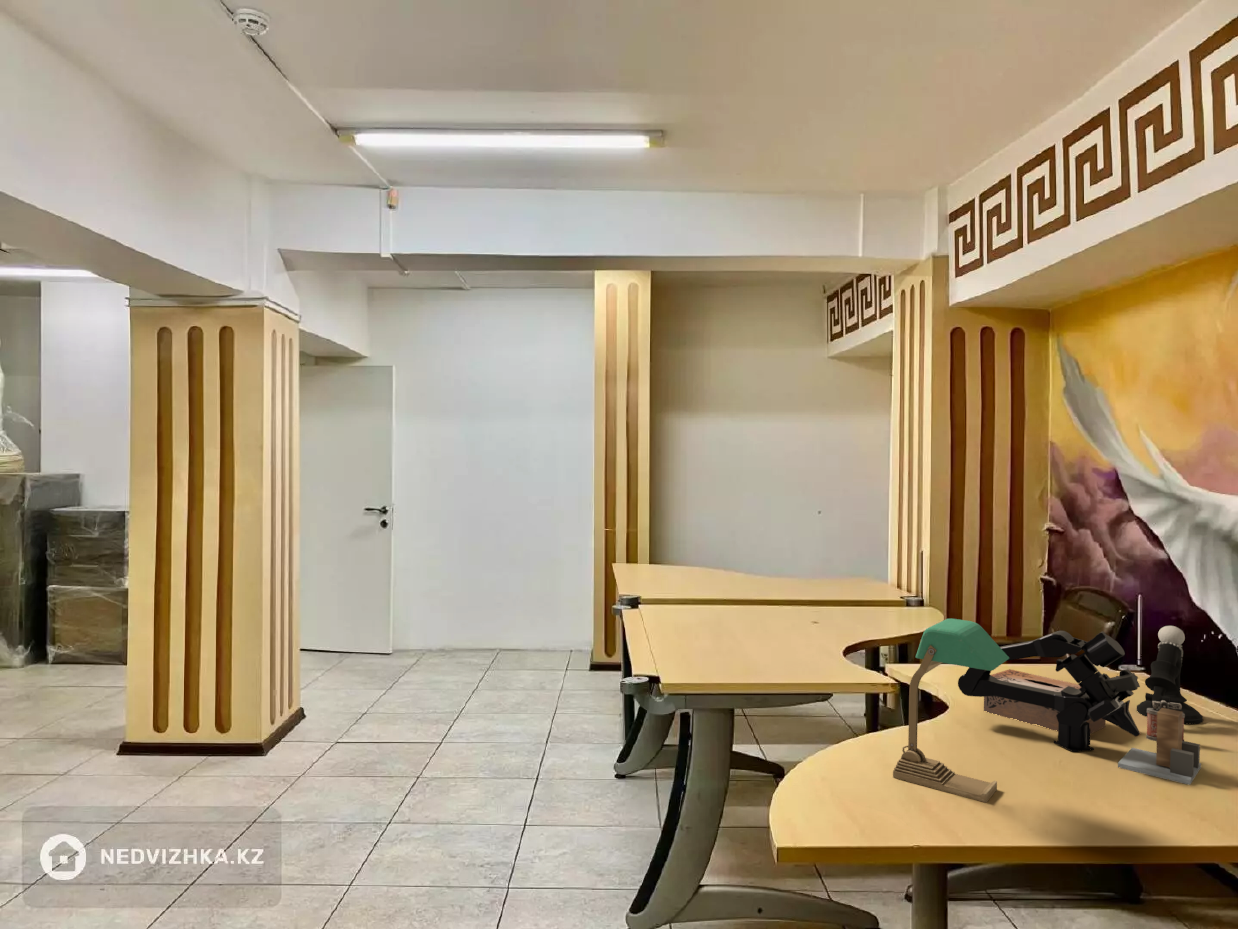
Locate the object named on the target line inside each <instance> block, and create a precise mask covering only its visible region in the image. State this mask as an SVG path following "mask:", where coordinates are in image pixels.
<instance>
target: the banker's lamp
mask: <svg viewBox="0 0 1238 929" xmlns="http://www.w3.org/2000/svg"><path fill="white" fill-rule="evenodd" d="M1000 647H1001V646H999V644H997V642H996V641H995V640H994V639H993V638H992V637H991V635H989V633H988V632H987V631H986V630H985V629H984V628H983V627H982V626H981V625H980V624H979V623H977V622H974V621H971V620H965V619H959V618H958V619H957V618H946V619H944V620H941V621H940V622H938V623H936V624H935V623H934V624H933V625H931V626H929V627H927V628H926V629H924V631H923V634H922V636H921V639H920V642H919V645H918V649H917V652H916V654H915V658H916V659H918V660H922V661H921V663H920V666H919V667H918V668H917V670H915V672H914V673H913V675H912V677H911V679H910V682H909V692H908V694H909V695H908V737H907V738H908V740H907V741H908V742H907V743H908V745H905V746H903V747H902V753H901V756H900V758H899V759H898V761H896V764H895V767H894V768H893V771H892V778H893V777H894V778H893V779H898V780H900V779H903V780H902V781H904V780H906V781H905V782H908V783H912V784H915V785H920V786H923V785H924V786H923V787H927V788H930V787H931V789H935V790H937V789H938V791H942V792H945V791H946V792H945V793H949V792H950V793H949V794H952V795H957V796H959V797H964V798H967V797H968V798H967V799H971V800H975V801H979V802H983V803H987V802H988V801H989V800H990V799H991V798H992V796H994V794H995V793H996V792H997V791H998V781H996V780H993V781H990V782H989V781H985V780H981V779H978V778H974V777H970V776H967V775H966V776H965V775H961V774H957V773H955V771H952V768H948V766H947V765H945V763H944V762H941V761H940V760H938V759H934V758H933V759H932V758H929V757H926V756H925V754H924V752H923V751H922V750H921V749H920V748H918V720H919V719H918V714H919V712H918V711H919V707H918V706H919V704H918V703H919V686H920V682H921V680H922V678H923V677H924V675H926V674H927V673H928V672H931V671H932V670H933V669H935V668H936V667H938V666H940V665H942V664H949V665H955V666H960V667H966V668H969V667H971V668H977V669H983V670H989V671H991V672H992V671H994V670H996V669H997V668H998V667H999V666H1001V665H1003V664H1004V663H1005V662H1007V661H1006V660H1008V659H1009V657H1008V656H1007V655H1006V654H1005V652H1004V651H1003V650H1002V649H1001V648H1000ZM907 748H908V749H907ZM905 749H907V750H906V751H905Z"/></svg>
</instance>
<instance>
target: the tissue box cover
mask: <svg viewBox="0 0 1238 929" xmlns="http://www.w3.org/2000/svg"><path fill="white" fill-rule="evenodd" d="M991 675H992V676H993V677H995V678H997V679H998V680H1001V681H1006V682H1011V683H1016V684H1021V685H1026V686H1031V687H1035V688H1040V689H1045V690H1050V691H1055V692H1061V691H1062V690H1063V689H1065V688H1066V687H1067V686H1070V687H1073V688H1076V689H1080V688H1081V687H1080V685H1079V683H1075V682H1074V683H1073V682H1069V681H1063V680H1061V679H1056V678H1051V677H1047V676H1042V675H1039V674H1038V675H1037V674H1033V673H1028V672H1023V671H1019V670H1015V669H1011V668H1009V669H1006V670H1002V671H999V672H995V673H992V674H991ZM984 711H987V712H986V713H988V712H989V713H988V714H992V713H993V714H992V715H995V714H997V715H996V716H999V715H1000V717H1003V718H1006V717H1007V719H1010V718H1013V719H1012V720H1014V719H1017V720H1019V721H1018V722H1021V721H1023V722H1022V723H1025V722H1027V723H1026V724H1028V723H1030V724H1029V725H1032V724H1037V725H1040V726H1043V727H1046V728H1045V729H1047V728H1049V729H1048V730H1050V729H1051V731H1054V730H1057V731H1056V732H1058V720H1057V717H1056V715H1057V714H1058V713H1059V712H1058V711H1056V710H1054V709H1052V708H1047V707H1043V706H1038V705H1033V704H1029V703H1024V702H1020V701H1015V700H1010V699H1006V698H1001V697H997V696H986V697H983V712H984ZM1017 720H1016V721H1017ZM1086 722H1088V723H1090V725H1089V728H1090V729H1091V730H1090V735H1091V734H1094V733H1095V732H1098V731H1100V730H1102V729H1104V728H1106V724H1107V723H1106V722H1107V721H1106V720H1103V719H1102V718H1100V719H1099V720H1097V721H1095V722H1093V721H1092V720H1091V719H1089V720H1088V721H1086ZM1043 727H1042V728H1043Z"/></svg>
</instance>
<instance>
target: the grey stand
mask: <svg viewBox="0 0 1238 929" xmlns="http://www.w3.org/2000/svg"><path fill="white" fill-rule="evenodd" d="M1200 746H1201V744H1199V743H1195V742H1190V741H1187V740H1184V741H1182V750H1179V749H1175V748H1172V749H1171V754H1170V768H1169V767H1165V766H1160V765H1156V752H1154V751H1149V750H1145V749H1144V750H1143V749H1140V748H1136V747H1131V748H1129V750H1128V752H1126V753H1125V754H1124V756H1123V757H1122V758H1121V759H1120V760H1119V761H1118V763H1117V768H1119V767H1120V769H1124V770H1128V771H1132V772H1136V773H1138V774H1139V773H1140V774H1144V775H1148V776H1151V777H1155V778H1160V779H1164V780H1168V779H1169V780H1168V781H1173V782H1176V783H1180V784H1185V785H1188V786H1191V784H1192V783H1193V781H1194V779H1195V778H1196V777H1197V775H1198V773H1199V771H1200V770H1201V768H1202V763H1201V762H1200V759H1201V758H1200V755H1201V754H1200V753H1201V752H1200V750H1201V748H1200Z"/></svg>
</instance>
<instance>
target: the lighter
mask: <svg viewBox="0 0 1238 929" xmlns="http://www.w3.org/2000/svg"><path fill="white" fill-rule="evenodd" d="M1152 705H1153V708H1147V718H1146V719H1147V720H1146V721H1147V722H1146V734H1145V738H1146V740H1148V741H1149V740H1150V741H1153V742H1157V712H1158V711H1159V710H1160V709H1161V708H1166V709H1169V708H1172V710H1176V709H1182V705H1181V704H1179V703H1172V702H1170V703H1167V702H1166V701H1164V700H1162V701H1161V702H1158V701H1152ZM1157 706H1159V707H1158V709H1156V708H1157ZM1184 718H1185V714H1184V713H1183V716H1182V741H1185V739H1184V736H1185V735H1184V733H1185V724H1184Z"/></svg>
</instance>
